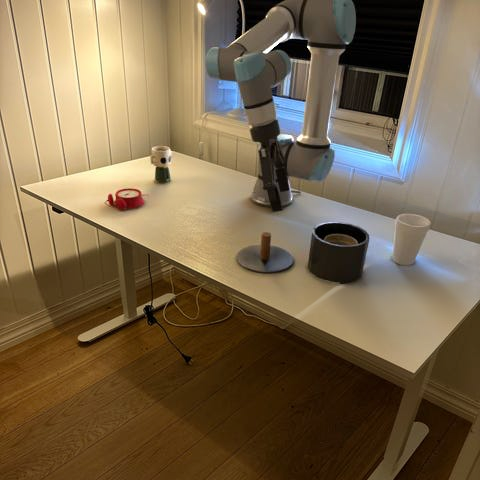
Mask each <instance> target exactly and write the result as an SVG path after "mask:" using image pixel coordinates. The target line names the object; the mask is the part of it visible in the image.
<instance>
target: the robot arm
mask: <svg viewBox="0 0 480 480" xmlns="http://www.w3.org/2000/svg"><path fill="white" fill-rule="evenodd" d="M356 24H357V15H356V8H355V4H354V2H353V0H283V1H281V2H279V3H277V4H276V5H274V6H273V7H272V8H270V9H269V11H268V12H267V13H266V15H265V18H263V19H262V20H260V21H259V22H258V23H257V24H255V25H254V26H253V27H251V28H250V29H249V30H247V31H246V32H245V33H243V34H242V35H241V36H240V37H238V38H237V39H235V40H234V41H232V43H230V44H229V45H227V46H226V47H211V48H210V49H209V50H208V51H207V53H206V56H205V60H204V61H205V63H204V64H205V71H206V74H207V75H208V77H209V78H211V79H214V80H219V81H221V82H222V81H224V82H234V83H237V86H238V90H239V93H240V97H241V100H242V104H243V109H244V112H243V116H244V117H246V121H247V124H248V125H249V128H248V129H249V133H250V138H251V140H252V142H254V143H259V147H258V151H257V152H258V153H257V154H258V158H257V159H258V161H257V177H256V178H257V179H256V181H255V184H254V186H253V189H252V192H251V201H252V202H253V203H255V204H256V205H259V206H262V207H267V208H268V207H269V208H271V211H272V213H276V212H282V211H283V210H284V209H283V207H285V206H288V205H290V204H292V202H293V201H292V200H293V194H294V193H295V194H301V192H302V191H300V190H292V189H291V185H290V178H296V179H301V180H305V181H309V182H316V183H321V182H323V181H324V180H325V179H326V178H327V177H328V176H329V174H330V172H331V169H332V167H333V164H334V161H335V156H336V154H335V153H336V151H335V149H334V148H333V147H331V143H332V141H331V140H330V138H329V136H328V133H329V125H330V119H331V113H332V107H333V100H334V93H335V86H336V79H337V74H338V73H337V72H338V68H339V67H338V66H339V60H340V56H341V55H342V54H343V53H344V52H345V51H346V46H347V45H349V44H350V43H352V41H353V39H354V35H355V34H356V33H355V32H356V26H357V25H356ZM292 39H293V40H295V39H296V40H307V48H308V50H309V52H310V54H311V55H310V56H311V57H310V62H309V63H310V64H309V70H308V71H309V72H308V78H307V79H308V80H307V88H306V96H305V103H304V111H303V112H304V113H303V120H302V128H301V134H300V135H299V136H297V137H296V141H294V137H293V135H290V134H282V133H281V127H280V123H279V120H278V119H277V117H278V112H277V109H276V105H275V100H274V97H273V91H272V89H273V88H275V87H277V86H279V85H281V84H282V83H284V81H286V80H287V78H289V77H290V75H291V72H292V68H293V66H292V60H291V58H290V56H289V55H288V54H287V53H286V52H285V51H284V50H281V49H275V50H272V49H273V48H274V47H276V46H277V45H278V44H279V43H285V42H286V41H288V40H292Z"/></svg>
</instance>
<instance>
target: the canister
mask: <svg viewBox="0 0 480 480" xmlns="http://www.w3.org/2000/svg"><path fill="white" fill-rule="evenodd" d="M332 234H342V235H347V236H350V237H352V238H354V239H355V240H356V241H357V242H358V244H357V245H336V244H331V243H329V242H326V241H324V238H325V237H326V236H328V235H332ZM369 243H370V234H369V233H368V232H367V231H366V230H365V229H364V228H362V227H360V226H358V225H355V224H351V223H348V222H342V221H327V222H322V223H319V224H316V225H315V226H314V227H313V228H312V230H311V236H310V245H309V246H310V247H309V253H308V260H307V266H306V267H307V269H308V271H309V273H310V274H312V275H313V276H314V277H316V278H318V279H321V280H323V281H327V282H332V283H338V284H339V285H345V284H351V283H355V282H357V281H359V280H360V279H361V277H362V275H363V271H364V267H365V263H366V258H367V253H368V248H369Z"/></svg>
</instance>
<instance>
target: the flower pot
mask: <svg viewBox="0 0 480 480" xmlns="http://www.w3.org/2000/svg"><path fill="white" fill-rule="evenodd" d="M324 241H326V242H329V243H331V244H336V245H357V244H358V242H357V241H356V240H355V239H354V238H352V237H350V236H347V235H342V234H332V235H328V236H326V237H325V238H324Z"/></svg>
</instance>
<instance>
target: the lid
mask: <svg viewBox="0 0 480 480" xmlns="http://www.w3.org/2000/svg"><path fill="white" fill-rule="evenodd" d="M271 244H272V233H271V232H267V231H264V232H262V233H261V237H260V244H254V245H253V244H252V245H248V246H245V247H243V248H241V249H240V250H238V251H237V253H236V256H235V260H236V262H237V264H238V265H239V266H240V267H241V268H243V269H245V270H247V271H249V272H253V273H256V274H277V273H282V272H285V271H287V270H289V269H290V268H291V267H292V266H293V264H294V256H293V255H292V254H291V253H290V251H288V250H286V249H284V248H282V247H279V246H276V245H271Z"/></svg>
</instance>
